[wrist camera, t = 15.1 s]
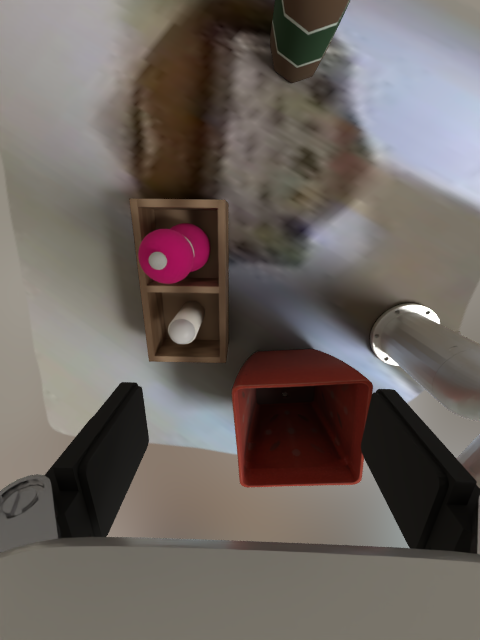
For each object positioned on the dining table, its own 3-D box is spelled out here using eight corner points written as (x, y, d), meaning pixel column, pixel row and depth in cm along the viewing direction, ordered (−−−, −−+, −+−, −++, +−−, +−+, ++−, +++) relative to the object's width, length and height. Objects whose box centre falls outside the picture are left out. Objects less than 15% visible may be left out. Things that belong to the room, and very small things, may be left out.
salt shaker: (204, 301, 47) (193, 322, 37) (205, 323, 49) (195, 350, 39) (180, 300, 47) (162, 322, 37) (182, 323, 49) (165, 349, 39)
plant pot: (234, 336, 51) (230, 387, 35) (333, 331, 50) (374, 380, 34) (241, 415, 57) (240, 488, 42) (328, 412, 57) (361, 484, 41)
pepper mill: (179, 215, 42) (130, 208, 24) (220, 235, 43) (203, 243, 25) (164, 256, 45) (109, 279, 26) (203, 274, 46) (177, 309, 27)
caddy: (228, 204, 43) (224, 199, 35) (228, 342, 51) (225, 362, 44) (149, 203, 43) (129, 198, 35) (163, 341, 51) (149, 361, 44)
